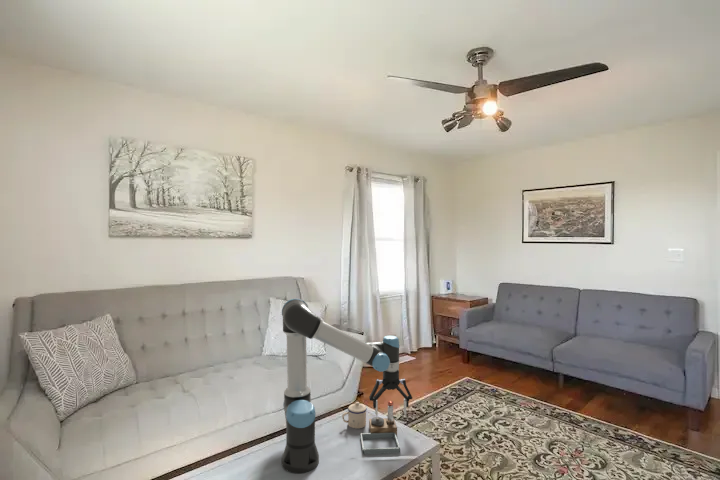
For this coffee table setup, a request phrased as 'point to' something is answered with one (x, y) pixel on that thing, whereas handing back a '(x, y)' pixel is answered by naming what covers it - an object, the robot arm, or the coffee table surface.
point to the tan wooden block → (381, 425)
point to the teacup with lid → (356, 415)
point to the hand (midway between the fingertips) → (390, 414)
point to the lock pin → (390, 413)
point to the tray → (379, 450)
